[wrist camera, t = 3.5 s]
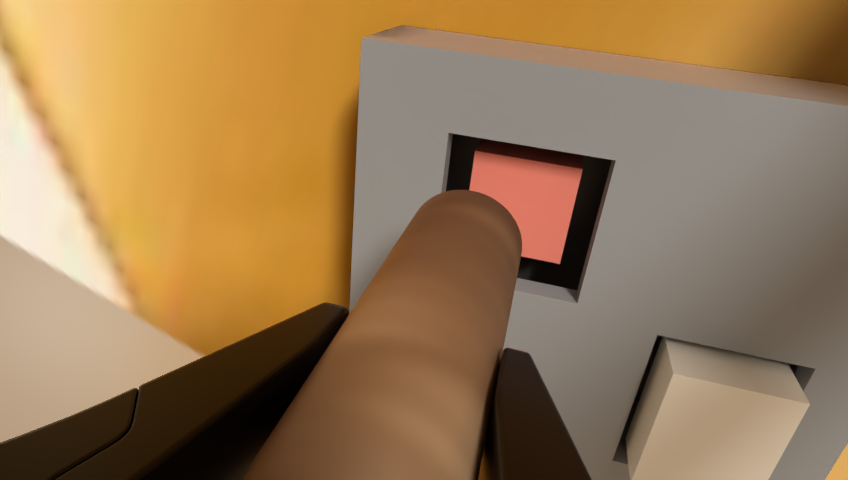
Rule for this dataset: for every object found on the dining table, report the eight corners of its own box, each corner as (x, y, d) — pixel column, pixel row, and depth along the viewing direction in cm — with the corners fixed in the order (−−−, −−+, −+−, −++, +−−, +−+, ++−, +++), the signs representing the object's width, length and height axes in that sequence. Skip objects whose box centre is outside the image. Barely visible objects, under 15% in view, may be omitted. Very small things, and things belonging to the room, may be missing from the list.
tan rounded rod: (533, 203, 12) (346, 1216, 2) (509, 304, 13) (323, 1245, 3) (416, 179, 12) (-172, 945, 3) (403, 278, 13) (-30, 1056, 4)
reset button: (582, 153, 18) (582, 168, 16) (560, 242, 19) (559, 263, 18) (482, 136, 18) (475, 150, 17) (469, 224, 20) (461, 244, 18)
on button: (786, 359, 17) (810, 404, 15) (732, 464, 19) (749, 514, 17) (663, 333, 18) (673, 373, 16) (625, 438, 20) (630, 483, 18)
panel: (937, 97, 16) (1040, 133, 12) (756, 446, 22) (790, 535, 19) (401, 25, 19) (361, 38, 15) (376, 355, 25) (344, 418, 21)
